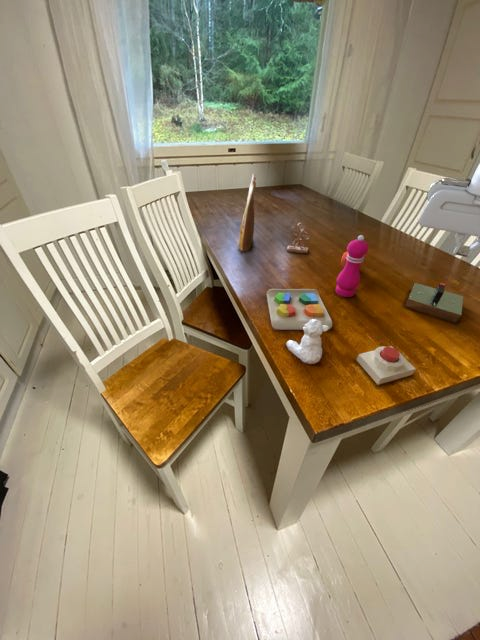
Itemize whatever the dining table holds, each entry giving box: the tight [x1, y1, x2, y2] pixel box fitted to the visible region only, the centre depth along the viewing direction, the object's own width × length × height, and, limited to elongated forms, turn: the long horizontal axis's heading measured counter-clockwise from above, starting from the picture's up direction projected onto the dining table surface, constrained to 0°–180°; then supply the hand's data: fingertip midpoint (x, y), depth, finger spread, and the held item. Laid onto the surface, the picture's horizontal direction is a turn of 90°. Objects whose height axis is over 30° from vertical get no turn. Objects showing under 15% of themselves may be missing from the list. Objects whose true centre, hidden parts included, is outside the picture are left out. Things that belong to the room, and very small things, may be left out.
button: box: [381, 346, 401, 363], centre depth 64 cm, size 4×4×2 cm
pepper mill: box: [335, 234, 370, 298], centre depth 87 cm, size 7×7×20 cm
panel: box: [404, 282, 464, 323], centre depth 87 cm, size 14×12×3 cm
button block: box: [356, 345, 417, 386], centre depth 66 cm, size 10×8×4 cm
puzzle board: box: [266, 288, 333, 331], centre depth 83 cm, size 18×19×4 cm
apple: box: [340, 250, 365, 269], centre depth 104 cm, size 8×8×8 cm
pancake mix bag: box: [238, 172, 257, 253], centre depth 114 cm, size 7×19×28 cm, turn 171°
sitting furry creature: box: [285, 319, 329, 365], centre depth 66 cm, size 10×9×12 cm
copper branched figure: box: [286, 222, 310, 254], centre depth 115 cm, size 9×4×12 cm, turn 77°
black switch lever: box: [433, 282, 446, 302], centre depth 85 cm, size 6×2×4 cm, turn 145°
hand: (460, 255), depth 58 cm, fingers closed
